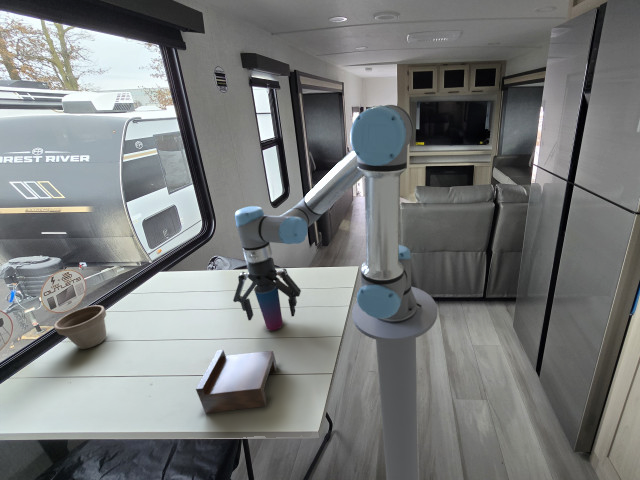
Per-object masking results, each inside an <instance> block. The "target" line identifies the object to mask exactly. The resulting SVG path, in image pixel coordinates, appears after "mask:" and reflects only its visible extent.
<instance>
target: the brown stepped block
mask: <svg viewBox="0 0 640 480" xmlns="http://www.w3.org/2000/svg"><path fill="white" fill-rule="evenodd" d="M277 369H278V365H277V361H276V357H275V353H274V350H265V351H257V352H246V353H238V354H227V355H226V354H225V350H224V349H218V350H216V352H215V354H214V356H213V358H212V360H211V361H210V363H209V365H208V366H207V368H206V370H205V371H204V374H203V376H202V377H201V379H200V381H199V382H198V385H197V387H196V388H195V391H196V393H197V396H198V399H199V401H200V403H201V406H202V409H203V411H204V413H205V414H212V413H219V412H226V411H235V410H243V409H253V408H261V407H266V405H267V403H268V399H267V396H266V392H265V388H266V387H265V386H266V383H267V380H268V378H269V374H270V373H275V372H277Z"/></svg>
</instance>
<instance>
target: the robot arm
mask: <svg viewBox="0 0 640 480" xmlns="http://www.w3.org/2000/svg"><path fill="white" fill-rule="evenodd" d="M414 130H415V127H414V122H413V119H412V117H411V115H410V113H408V111H406V109H404V108H403V107H401V106H400V105H395V104H386V105H382V104H380V105H373V106H371V107H368V108H366V109H365V110H363V111H362V112H361V113H360V114H358V115H357V117H356V118H355V120H353V122H352V125H351V128H350V131H349V132H350V133H349V141H350V146H351V150H350V151H349V152H348V153H347V154H346V155H345V156H344V157H343V158H341V160H340V161H339V162H338V163H337V164H336V165H335V166H334V167H333V168H332V169H331V170H330V171H329V172H328V173H327V174H326V175H325V176H324V177H323V178H322V179H321V180H320V181H318V183H317V184H316V185H315V186H314V187H313V188H312V189H311V190H310V191H309V192H308V193H307V194H306V195H305V196H304V197H303V198H302V199H301V200H300V201H299V202H298V203H297V204H296V205H294V206H293V207H291V208H290V209H289V210H287V211H285V212H284V213H283V214H281V215H265V212H264V209H263V208H262V206H261V207H260V206H257V205H255V206H254V205H251V206H245V207H242V208H240V209H237V210H236V211H235V213H234V218H235V224H236V229H237V233H238V236H239V239H240V244H241V248H242V252H243V256H244V261H245V265H246V268H247V272H248V273H246V272H245V271H241V272H240V274H239V275H238V276H237V279H238V283H237V287H236V289H235V293H234V296H233V300H232V301H233V302H234V303H237V302H238V303H240V306H241V309H242V311H243V312H245V314H246V317H247V320H248V321H252V319H253V317H254V312H253V308H252V304H251V300H250V298H248V297H249V296H250V295H251V293H252V292H253V290H254V288H255V287H256V286H257V285H258V286H259V287H261V286H270V285H272V286H273V287H276V288H277V289H278V291H279V292H281V293H283V294H284V295H285V296H287V297H288V299H287V300H288V306H289V311H290V316H291V317H295V314H296V306H297V303H298V301H297V298H298V297H300V295H301V292H302V290H301V289H300V287H299V286H298V285H297V283H296V282H295V281H294V280H293V279H292V277H291V276H290V275H289V273H288V271H287V268H285V267H283V268H282V269H280V270H277V269H276V267H275V266H276V265H275V261H274V257H273V251H272V247H271V243H275V244H285V245H294V244H295V245H299V244H302V243H303V242H305V240H306V237H307V236H308V232H309V231H308V229H309V227H310V226H311V225H313V224H314V223H316V222H317V221H318V220H319V219H320V218H321V217H322V216H323V214H324V213H326V212H327V211H328V210H329V209H330V208H332V206H333V205H334V204H335V203H336V202H337V201H338V200H339V199H341V197H343V196H344V195H345V194H346V193H347V192H348V191H349V190H351V189H352V187H353V186H355V185H356V184H357V183H358V182H359V181H360V180H361V179H362V178H364V215H365V219H364V220H365V221H364V222H365V256H366V258H365V259H366V260H365V261H364V262H363V263H362V264H361V267H360V279H361V280H360V281H361V283H360V288H359V290H358V291H357V295H356V301H357V303H358V305H359V307H360V308H361V309H362V311H364V312H366V314H368V315H369V316H372V317H375V318H378V319H379V320H381V321H384V322H388V323H400V322H404V321H407V320H409V319H410V318H412V317H413V316H414V315H415V313H416V311H417V306H419V307H422V306H421V305H420V304H418V303H417V302H416V299H415V297H414V294H413V292H412V289H411V287H412V256H411V250H410V249H409V248H408V247H407V246H405V245H401V244H400V211H401V210H400V209H401V208H400V207H401V206H400V202H401V201H400V200H401V175H402V174H403V173H404V172H405V171H406V170H407V169H408V150H409V149H408V148H409V147H408V146H409V144H410V143H411V142H412V139H413V137H414ZM278 276H279V277H278ZM280 279H281V280H282V281H281V280H280ZM247 280H249V281H251V284H250V285H249V286H248V288H247V289H246V291H245V292H244V294H243V295H242V291H243V288H244V285H245V282H246V281H247Z"/></svg>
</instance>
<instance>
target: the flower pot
mask: <svg viewBox="0 0 640 480" xmlns="http://www.w3.org/2000/svg"><path fill="white" fill-rule="evenodd" d="M106 316H107V311H106V310H105V307H104V306H103V305H99V304H98V305H96V304H95V305H90V306H84V307H82V308H78V309H77V310H74V311H71V312H69V313H67V314H65V315H63V316H61V317H60V318H59V319H58V320H57V321H56V322H55V323H54V325H53V328H54V330H55V331H56V333H57V334H58V335H61V336H65V337H66V338H67V339H68V340H69V341H71V342H72V343H73V344H74V345H75V346H76V347H78V348H79V349H81V350H86V349H90V348H94V347H95V346H96V347H97V345H100V344H101V343H103V342H104V341H105V340H106V338H107V327H106V322H105V321H106V320H105V318H106Z"/></svg>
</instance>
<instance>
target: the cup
mask: <svg viewBox="0 0 640 480" xmlns="http://www.w3.org/2000/svg"><path fill="white" fill-rule="evenodd" d="M253 290H254V294H255V297H256V300H257V303H258V306H259V309H260V312H261V315H262V317H263V320H264V324H265V327H266V329H267V330H268V331H277V330H279V329H280V328H282V327H283V325H284V323H283V322H284V321H283V316H282V307H281V301H280V293H279V289H277V288H276V287H273V286H272V285H270V286H261V287H259V286H258V285H256V286H255V287H254V289H253Z"/></svg>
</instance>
